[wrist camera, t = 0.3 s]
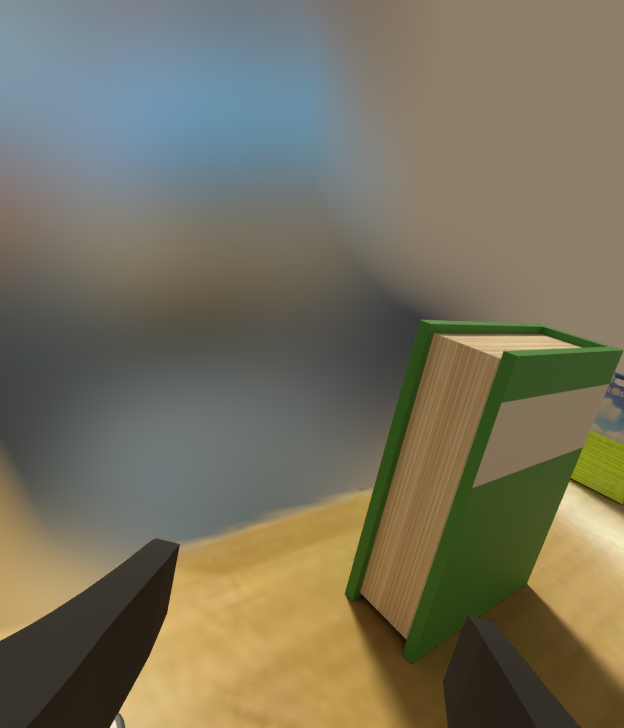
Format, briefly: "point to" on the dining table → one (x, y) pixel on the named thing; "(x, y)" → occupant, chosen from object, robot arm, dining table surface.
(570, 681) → the dining table surface
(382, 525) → the hardback book
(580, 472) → the box
